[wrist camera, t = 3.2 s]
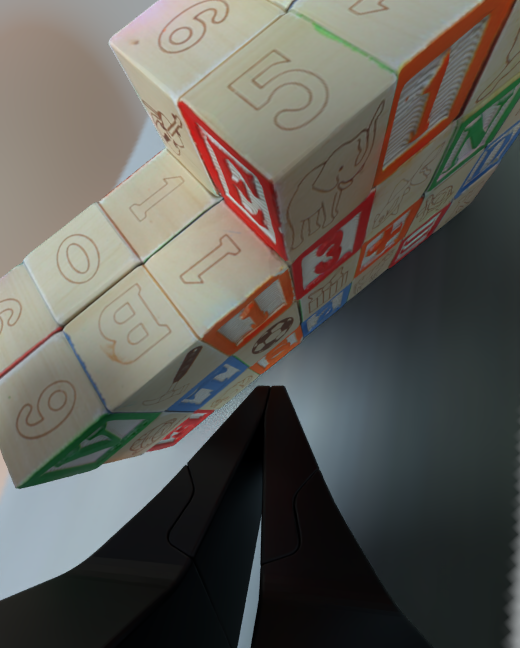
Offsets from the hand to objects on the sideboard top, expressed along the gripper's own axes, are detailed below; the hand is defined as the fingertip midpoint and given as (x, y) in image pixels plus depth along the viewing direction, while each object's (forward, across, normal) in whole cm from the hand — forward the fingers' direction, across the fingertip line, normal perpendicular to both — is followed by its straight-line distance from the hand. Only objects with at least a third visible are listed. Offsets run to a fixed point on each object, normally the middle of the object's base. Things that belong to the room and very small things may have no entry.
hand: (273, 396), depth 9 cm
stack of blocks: (+10, 0, 0) cm, 10 cm away
